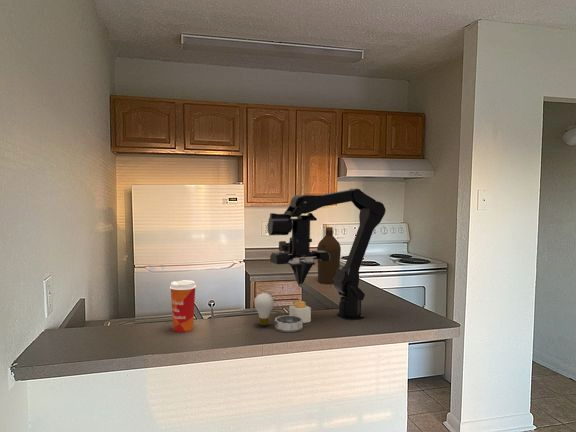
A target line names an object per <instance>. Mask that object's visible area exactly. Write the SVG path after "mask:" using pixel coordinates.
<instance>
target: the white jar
mask: <svg viewBox="0 0 576 432" xmlns="http://www.w3.org/2000/svg"><path fill="white" fill-rule="evenodd" d="M311 311H312V307H310V306H308V305H306V304H305V308H296V307H295V304H292V305H289V311H288V313H289V314H288V315H291V316H298V317H300V318H302V319H303V324H305V323H311V321H312V320H311V315H312V314H311V313H312V312H311Z"/></svg>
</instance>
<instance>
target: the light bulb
mask: <svg viewBox="0 0 576 432" xmlns="http://www.w3.org/2000/svg"><path fill="white" fill-rule="evenodd" d="M274 304H275V302H274V298H273V297H272V295H270V294H269V293H266V292H262V293H259V294H258V295H256V297H255V299H254V308H255V309H256V312H257V313H258V317H259V318H258V319H259V324H260V325H261V326H262V327H265V326H267V325H268V324H269V317H270V314H271V311H272V309H273V308H274V306H275V305H274Z"/></svg>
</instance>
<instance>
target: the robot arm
mask: <svg viewBox="0 0 576 432" xmlns="http://www.w3.org/2000/svg"><path fill="white" fill-rule="evenodd" d="M350 202H352V205H354V206H355V207H356V209H358V210H359V215H358V218H359V220H358V221H359V226H358V229H357V232H356V234H355V236H354V239H353V242H352V245H351V247H350V251H349V254H348V256H347V260H346V262H345V265H344V266H342V267H341V268H337V270H336V275H335V277H334V278H333V279H334V284H333V286H334V289H335V290H336V291H337V292H338V295H339V296H340V297H339V298H340V301H339V306H338V307H339V309H338V312H337V315H338V316H340V317H342V318H344V319H346V320H353V319H355V320H356V319H360V318H364V317H365V315H364V314H362V301H364V299H365V296H366V294H365V293H364V292H363V290H361V288H359V284H360V280H361V278H360V268H361V266H362V262H363V260H364V257H365V254H366V251H367V249H368V246H369V244H370V241H371V238H372V235H373V232H374V230H375V229H376V227H377V226H379V224H380V223H381V221H382V220H383V218H384V217H385V214H386V211H387V209H386V207H385V204H384V203H383V202H381V201H378V200H376V199H375V198H373V197H371V196H369V194H368V195H367V194H366V193H365V192H364V191H362V190H361V189H359V188H350V189H347V190H340V191H335V192H330V193H329V192H328V193H324V194H318V195H317V194H296V195H293V197H292V198H291V199H290V204H289V206H288V207H287V209H286V210H285V211H284V213H274V212H273V213H271V212H270V213H269V218H268V221H267V225H266V226H267V233H268V235H269V236H288V235H290V233H291V237H289V242H287V241H286V240H281V241H278V251H279V252H272V253H271V254H270V257H269V262H270V263H273V264H275V265H289V266H290V268H291V269H292V271H293V274H294V278H295V281H296V283H297V285H303V284H304V282H305V279H306V278H307V276H308V274H309V272H310V271H311V268H313V266H314V265H316V262H314V260H318V259H320V260H321V261H330V254H329V253H328V252H326V251H322V250H317V249H316V250H311V243H312V241H313V239H312V238H311V222H312V221H314V222H316V221H318V220H317V218H316V216H315V215H314V214H313V213H312V212H314V211H317V210H319V209H321V208H323V207H328V206H334V205H339V204H343V203H344V204H345V203H350ZM305 214H306V215H305Z"/></svg>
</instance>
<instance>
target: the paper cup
mask: <svg viewBox="0 0 576 432" xmlns="http://www.w3.org/2000/svg"><path fill="white" fill-rule="evenodd" d="M196 288H197V284H196V282H195V281H194V280H190V279H189V280H188V279H183V280H176V281H175V280H174V281H171V282H170V286H169V289H170V298H171V300H170V301H171V314H172V316H171V317H172V327H173V328H172V329H173V331H174V332H175V333H188V332H190V331H191V332H192V331H193V328H194V318H195V316H194V315H195V303H196V302H195V299H196Z"/></svg>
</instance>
